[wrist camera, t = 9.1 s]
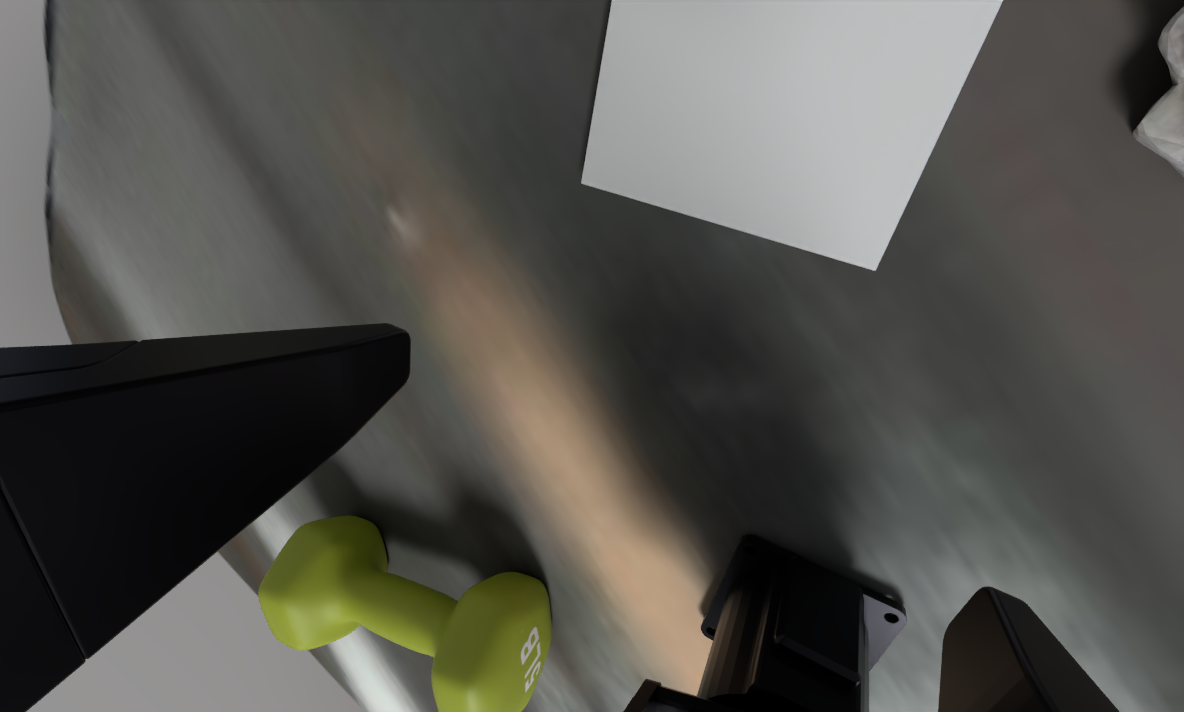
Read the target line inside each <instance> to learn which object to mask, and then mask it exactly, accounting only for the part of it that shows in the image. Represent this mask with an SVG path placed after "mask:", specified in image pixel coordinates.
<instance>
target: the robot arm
mask: <svg viewBox="0 0 1184 712" xmlns="http://www.w3.org/2000/svg"><path fill="white" fill-rule="evenodd" d="M410 354H411V339H410V336H409V333H408V332H407V331H405V330H403V329H401V328H399V327H396V326H394V325H392V324H388V323H380V324H366V325H351V326H337V327H323V328H308V329H294V330H280V331H265V332H251V333H236V334H222V335H208V336H193V337H179V338H165V339H150V340H142V341H140V342H138V341H120V342H106V343H89V344H72V345H55V346H31V347H8V348H0V712H26V711H27V710H29V709H30V708H31V707H32V706H33V705H35V704H36V703H37V702H38V701H39V700H41V699H42V698H43V697H44V696H45V695H47V694H48V693H49V692H50V691H51V690H52V689H54V688H55V687H56V686H57V685H59V684H60V683H61V682H62V681H63V680H65V679H66V678H67V677H68V676H69V675H71V674H72V673H73V672H74V671H75V670H77V669H78V668H79V667H80V666H81V665H82V664H84V663H85V659H89V658H90V657H91V656H92V655H94V654H95V653H96V652H97V651H99V650H100V649H101V648H102V647H103V646H105V645H106V644H107V643H108V642H109V641H111V640H112V639H113V638H114V637H115V636H116V635H118V634H119V633H120V632H121V631H123V630H124V629H125V628H126V627H127V626H129V625H130V624H131V623H132V622H133V621H135V620H136V619H137V618H138V617H139V616H141V615H142V614H143V613H144V612H145V611H147V610H148V609H149V608H150V607H151V606H153V605H154V604H155V603H156V602H157V601H159V600H160V599H161V598H162V597H163V596H165V595H166V594H167V593H168V592H169V591H171V590H172V589H173V588H174V587H175V586H176V585H178V584H179V583H180V582H181V581H183V580H184V579H185V578H186V577H187V576H189V575H190V574H191V573H192V572H193V571H195V570H196V569H197V568H198V567H199V566H200V565H202V564H203V563H204V562H205V561H207V560H208V559H209V558H210V557H211V556H213V555H214V554H215V553H216V552H217V551H219V550H220V549H221V548H222V547H223V546H225V545H226V544H227V543H228V542H229V541H231V540H232V539H233V538H234V537H235V536H237V535H238V534H239V533H240V532H241V531H243V530H244V529H245V528H246V527H247V526H249V525H250V524H251V523H252V522H253V521H255V520H256V519H257V518H258V517H259V516H261V515H262V514H263V513H264V512H265V511H267V510H268V509H269V508H270V507H271V506H273V505H274V504H275V503H276V502H277V501H279V500H280V499H281V498H282V497H283V496H285V495H286V494H287V493H288V492H289V491H291V490H292V489H293V488H294V487H295V486H297V485H298V484H299V483H300V482H301V481H303V480H304V479H305V478H306V477H307V476H309V475H310V474H311V473H312V472H313V471H315V470H316V469H317V468H318V467H319V466H321V465H322V464H323V463H324V462H325V461H327V460H328V459H329V458H330V457H331V456H333V455H334V454H335V453H336V452H337V451H338V450H340V449H341V448H342V447H343V446H344V445H345V444H346V443H347V442H348V441H349V440H350V439H351V438H353V437H354V436H355V435H356V434H357V433H358V432H359V431H360V430H361V429H362V428H363V427H364V426H365V425H366V424H367V422H368V421H369V420H370V419H371V418H372V417H373V416H374V415H375V414H376V413H377V412H378V411H379V410H380V409H381V408H382V407H383V406H384V405H385V404H386V403H387V402H388V401H389V400H390V399H391V398H392V397H393V396H394V395H395V394H396V393H397V392H398V391H399V390H400V389H401V388H402V387H403V386H404V385H405V383H406V382H407V380H408V378H409V375H410ZM747 546H752V547H754V548H755V549H750V548H749V547H747ZM887 613H893V614H895V615H889V614H887ZM906 622H907V618H906V610H905V608H904V607H903V606H902V605H901V604H900V603H898V602H896V601H894V600H892V599H890V598H888V597H886V596H883V595H881V594H879V593H877V592H875V591H873V590H871V589H868V588H866V587H864V586H862V585H860V584H858V583H856V582H853V581H851V580H849V579H847V578H845V577H843V576H841V575H838V574H836V573H834V572H832V571H830V570H828V569H826V568H823V567H821V566H819V565H817V564H815V563H813V562H811V561H808V560H806V559H804V558H802V557H800V556H798V555H796V554H793V553H791V552H789V551H787V550H785V549H783V548H781V547H778V546H776V545H774V544H772V543H770V542H768V541H766V540H763V539H761V538H759V537H757V536H754V535H745V536H743V537H742V538H741V539H740V541H739V543H738V545H737V548H736V550H735V552H734V554H733V556H732V558H731V561H730V563H729V565H728V567H727V569H726V571H725V574H724V576H723V578H722V580H721V582H720V585H719V587H718V589H717V591H716V593H715V595H714V598H713V600H712V602H711V604H710V606H709V608H708V611H707V613H706V615H705V617H704V619H703V622H702V625H701V631H702V633H703V634H704V635H705V636H706V637H708V638H709V639H711V640H713V643H712V647H711V650H710V653H709V657H708V660H707V664H706V667H705V670H704V674H703V677H702V681H701V684H700V687H699V691H698V694H697V696H694V695H691V694H687V693H684V692H681V691H677V690H674V689H670V688H667V687H664V686H661V683H659V682H656V681H653V680H649V679H645V681H644V682H643V684H642V685H641V687H640V688H639V690H638V691H637V693H636V695H635V696H634V697H633V698H632V700H631V701H630V703H629V704H628V706H627V707H626V709H625V710H624V712H869V671H870V670H871V669H872V668H873V666H874V665H875V664H876V662H877V661H878V660H879V658H880V657H881V656H882V655H883V653H884V652H885V651H886V649H887V648H888V647H889V645H890V644H891V643H892V642H893V640H894V639H895V638H896V636H897V635H898V634H899V632H900V631H901V630H902V629H903V627H904V626H905V624H906ZM938 712H1119V711H1118V709H1117V708H1116V707H1115V706H1114V705H1113V704H1112V702H1111V701H1110V700H1109V699H1108V698H1107V697H1106V695H1105V694H1104V693H1103V692H1102V691H1101V690H1100V688H1099V687H1098V686H1097V685H1096V684H1095V683H1094V681H1093V680H1092V679H1091V678H1090V677H1089V676H1088V674H1087V673H1086V672H1085V671H1084V670H1083V669H1082V668H1081V666H1080V665H1079V664H1078V663H1077V662H1076V661H1075V659H1074V658H1073V657H1072V656H1071V655H1070V654H1069V652H1068V651H1067V650H1066V649H1065V648H1064V647H1063V645H1062V644H1061V643H1060V642H1059V641H1058V640H1057V638H1056V637H1055V636H1054V635H1053V634H1052V633H1051V631H1050V630H1049V629H1048V628H1047V627H1046V626H1045V625H1044V623H1043V622H1042V621H1041V620H1040V619H1039V618H1038V616H1037V615H1036V614H1035V613H1034V612H1033V611H1032V609H1031V608H1030V607H1029V606H1028V605H1027V604H1026V603H1025V602H1023V601H1022V600H1020V599H1018V598H1016V597H1013V596H1011V595H1009V594H1007V593H1004V592H1002V591H1000V590H997V589H995V588H993V587H982V588H981V589H979V590H978V591H977V592H976V593H975V594H974V595H973V596H972V597H971V599H970V600H969V601H968V602H967V603H966V605H965V606H964V607H963V608H962V609H961V611H960V612H959V613H958V614H957V615H956V617H955V618H954V619H953V620H952V621H951V623H950V624H949V626H948V627H947V629H946V632H945V635H944V639H943V650H942V664H941V679H940V694H939V709H938Z"/></svg>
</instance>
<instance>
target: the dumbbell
mask: <svg viewBox="0 0 1184 712" xmlns="http://www.w3.org/2000/svg"><path fill="white" fill-rule="evenodd" d="M258 597H259V602H260V605H261V608H262V611H263V613H264V616H265V618H266V621H267V623H268V625H269V627H270V629H271V631H272V633H273V635H274V636H275V637H276V639H277V640H279V641H280V642H281V643H283V644H285V645H286V646H288V647H290V648H293V649H296V650H309V649H313V648H317V647H320V646H323V645H326V644H329V643H331V642H333V641H336V640H338V639H340V638H342V637H344V636H346V635H348V634H349V633H351V632H352V631H354V630H355V629H356V628H358V627H359V625H360V624H361V625H363V626H364V627H366V628H367V629H369V630H370V631H372V632H374V633H376V634H378V635H380V636H382V637H384V638H386V639H388V640H390V641H393V642H395V643H397V644H399V645H402V646H404V647H406V648H409V649H411V650H414V651H417V652H420V653H423V654H427V655H430V656H432V657H434V661H433V666H432V672H431V680H432V688H433V692H434V697H435V701H436V704H437V707H438V711H439V712H521V711H522V710H523V709H524V708H525V706H526V705H527V703H528V702H529V700H530V698H531V696H532V693H533V691H534V689H535V686H536V684H537V681H538V679H539V676H540V673H541V671H542V668H543V665H544V662H545V659H546V656H547V653H548V650H549V646H550V642H551V636H552V622H551V613H550V604H549V597H548V593H547V591H546V588H545V586H544V585H543V583H542V582H541V581H540V580H538V579H536V578H533V577H531V576H528V575H525V574H521V573H518V572H504V573H500V574H497V575H495V576H492V577H490V578H488V579H486V580H483V581H481V582H479V583H477V584H476V585H474V586H472V587H470V588H469V589H468V590H467V591H466V592H465V593H464V594H463V595H462V597H461V598H460V600H459V601H457V600H455V599H453V598H451V597H450V596H448V595H446V594H444V593H441V592H439V591H436V590H434V589H431V588H429V587H427V586H424V585H422V584H419V583H417V582H414V581H411V580H409V579H406V578H403V577H401V576H398V575H395V574H391V573H388V562H387V555H386V550H385V546H384V543H383V540H382V537H381V534H380V532H379V530H378V528H377V527H376V526H375V525H374V524H373V523H372V522H370V521H368V520H366V519H363V518H360V517H356V516H351V515H346V516H337V517H331V518H326V519H320V520H316V521H312V522H309V523H306V524H304V525H303V526H301V527H300V528H298V529H297V530H296V531H295V532H294V534H293V535H292V536H291V537H290V539H289V540H288V541H287V543H286V544H285V546H284V547H283V549H282V550H281V552H280V553H279V555H278V556H277V558H276V559H275V561H274V562H273V564H272V565H271V567H270V568H269V570H268V572H267V573H266V575H265V577H264V579H263V581H262V583H261V585H260V588H259V593H258Z"/></svg>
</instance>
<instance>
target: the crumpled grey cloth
mask: <svg viewBox="0 0 1184 712" xmlns="http://www.w3.org/2000/svg"><path fill="white" fill-rule="evenodd" d="M1158 47H1159V50H1160V52H1161V53H1162V55H1163V57H1164V59H1165V61H1166V63H1167V64H1168V67H1169V71H1170V75H1171V79H1172V83H1173V86H1172V87H1171V88H1170V89H1169V90H1168V91H1167V92H1166V93H1165V94H1164V95H1163V96H1162V97H1161V98H1160V99H1159V100H1158V101H1157V102H1156V103H1154V104H1153V105H1152V107H1151V108H1150V109H1149V111H1148V112H1147V114H1146V115H1145V117H1144V118H1143V119H1142V121H1141V122H1140V123H1139V125H1138V126H1137V127H1136V129H1135V130H1134V131H1133V136H1134V138H1135V139H1136V140H1137V141H1139V142H1140V143H1142V144H1143V145H1145V146H1146V147H1148V148H1149V149H1151V150H1152V151H1154V152H1155V153H1157V154H1159V155H1160V156H1162V157H1163V158H1164V159H1166V160H1167V161H1168V162H1169V163H1170V164H1171V165H1172V166H1173V167H1174V168H1175V169H1176V170H1177V171H1178V172H1179V173H1180V175H1181V176H1182V177H1183V178H1184V6H1183V7H1182V8H1181V9H1180V10H1179V11H1178V12H1177V13H1176V14H1175V15H1174V16H1173V17H1172V18H1171V19H1170V21H1169V22H1168V23H1167V24H1166V26H1165V27H1164V28H1163V31H1162V33H1161V36H1160V38H1159V41H1158Z"/></svg>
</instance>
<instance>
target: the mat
mask: <svg viewBox="0 0 1184 712" xmlns="http://www.w3.org/2000/svg"><path fill="white" fill-rule="evenodd" d="M1002 2H1003V0H612V3H611V9H610V15H609V21H608V27H607V33H606V39H605V45H604V51H603V56H602V62H601V68H600V74H599V80H598V86H597V92H596V98H595V104H594V110H593V116H592V122H591V128H590V134H589V140H588V146H587V151H586V157H585V163H584V169H583V175H582V181H581V184H585V185H588V186H591V187H595V188H598V189H601V190H605V191H608V192H611V193H615V194H618V195H622V196H625V197H628V198H632V199H635V200H638V201H642V202H645V203H648V204H652V205H655V206H659V207H662V208H665V209H669V210H672V211H675V212H679V213H682V214H685V215H689V216H692V217H696V218H699V219H702V220H706V221H709V222H712V223H716V224H719V225H723V226H726V227H729V228H733V229H736V230H739V231H743V232H746V233H749V234H753V235H756V236H760V237H763V238H766V239H770V240H773V241H776V242H780V243H783V244H786V245H790V246H793V247H797V248H800V249H803V250H807V251H810V252H813V253H817V254H820V255H823V256H827V257H830V258H834V259H837V260H840V261H844V262H847V263H850V264H854V265H857V266H860V267H864V268H867V269H871V270H874V271H876V268H877V266H878V264H879V262H880V260H881V258H882V256H883V254H884V251H885V249H886V247H887V245H888V243H889V241H890V239H891V237H892V235H893V232H894V230H895V228H896V226H897V224H898V222H899V220H900V218H901V215H902V213H903V211H904V209H905V207H906V205H907V203H908V201H909V199H910V196H911V194H912V192H913V190H914V188H915V186H916V184H917V182H918V179H919V177H920V175H921V173H922V171H923V169H924V167H925V165H926V163H927V160H928V158H929V156H930V154H931V152H932V150H933V148H934V146H935V143H936V141H937V139H938V137H939V135H940V133H941V131H942V129H943V126H944V124H945V122H946V120H947V118H948V116H949V114H950V112H951V110H952V107H953V105H954V103H955V101H956V99H957V97H958V95H959V93H960V90H961V88H962V86H963V84H964V82H965V80H966V78H967V76H968V74H969V71H970V69H971V67H972V65H973V63H974V61H975V59H976V57H977V54H978V52H979V50H980V48H981V46H982V44H983V42H984V40H985V38H986V35H987V33H988V31H989V29H990V27H991V25H992V23H993V21H994V18H995V16H996V14H997V12H998V10H999V8H1000V6H1001V4H1002Z"/></svg>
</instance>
